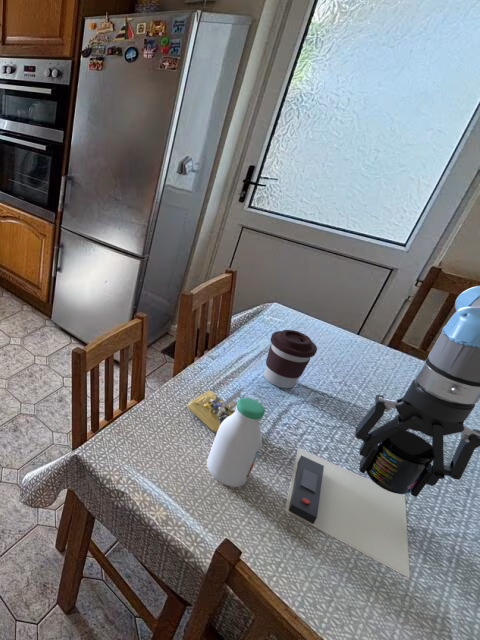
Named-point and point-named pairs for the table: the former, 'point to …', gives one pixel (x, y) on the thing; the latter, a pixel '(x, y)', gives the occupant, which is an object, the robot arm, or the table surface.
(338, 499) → the scale
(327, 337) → the table surface
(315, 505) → the remote
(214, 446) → the milk bottle
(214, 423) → the yellow snack bag
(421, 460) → the supplement container
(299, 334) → the coffee cup
